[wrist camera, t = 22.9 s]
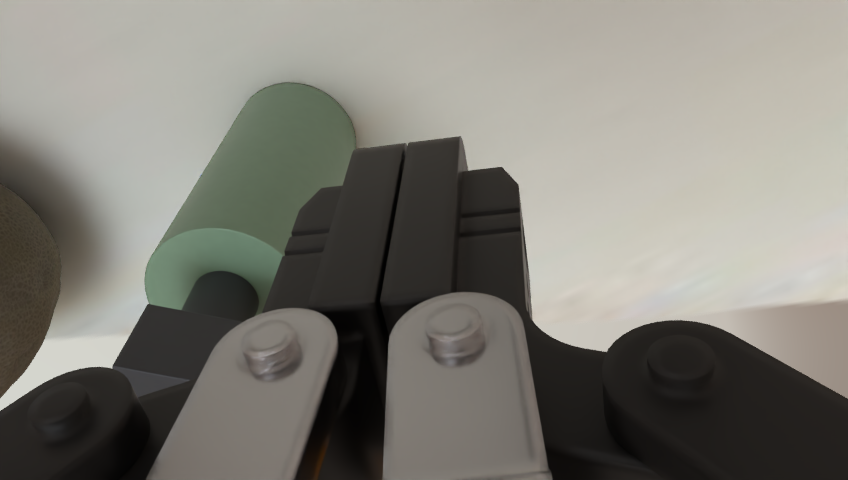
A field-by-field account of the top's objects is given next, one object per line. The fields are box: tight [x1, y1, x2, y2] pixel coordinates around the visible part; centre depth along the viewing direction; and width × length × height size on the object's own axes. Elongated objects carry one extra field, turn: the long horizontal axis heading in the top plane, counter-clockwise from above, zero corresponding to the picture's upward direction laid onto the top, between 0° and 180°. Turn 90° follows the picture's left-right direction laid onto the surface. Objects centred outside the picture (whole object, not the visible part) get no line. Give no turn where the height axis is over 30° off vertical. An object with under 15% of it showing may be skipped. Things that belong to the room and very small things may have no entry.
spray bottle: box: [113, 83, 356, 397], centre depth 34 cm, size 8×6×20 cm
